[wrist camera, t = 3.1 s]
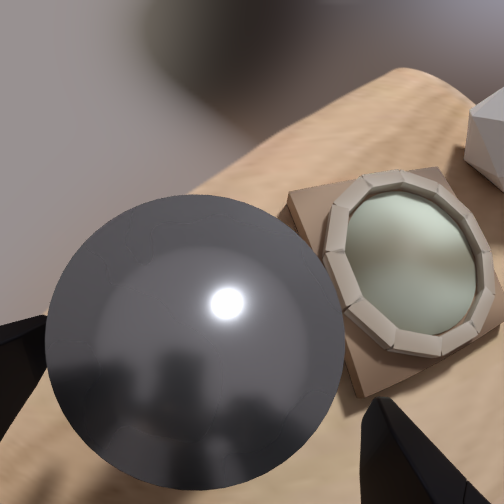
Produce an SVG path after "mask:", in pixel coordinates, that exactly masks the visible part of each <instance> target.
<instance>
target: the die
mask: <svg viewBox="0 0 504 504" xmlns="http://www.w3.org/2000/svg"><path fill="white" fill-rule="evenodd" d="M464 160H465V161H466V162H467V163H469V164H470V165H471V166H472V167H474V168H475V169H476V170H477V171H479V172H480V173H481V174H482V175H484V176H485V177H486V178H487V179H488V180H490V181H491V182H492V183H493V184H494V185H495V186H497V187H498V188H499V189H500V190H501V191H502V192H503V193H504V87H503V88H502V89H500V90H498V91H497V92H495V93H494V94H492V95H491V96H489V97H488V98H486V99H485V100H483V101H482V102H480V103H479V104H478V105H476V106H474V107H473V108H471V109H470V110H469V121H468V131H467V139H466V147H465V154H464Z"/></svg>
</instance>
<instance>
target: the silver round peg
mask: <svg viewBox="0 0 504 504" xmlns="http://www.w3.org/2000/svg"><path fill="white" fill-rule="evenodd" d="M45 353H46V363H47V368H48V374H49V378H50V381H51V385H52V388H53V391H54V394H55V397H56V399H57V401H58V403H59V405H60V407H61V409H62V412H63V413H64V415H65V417H66V418H67V420H68V421H69V423H70V424H71V426H72V427H73V429H74V430H75V432H76V433H77V434H78V435H79V436H80V437H81V439H82V440H83V441H84V442H85V443H86V444H87V445H88V446H89V447H90V448H91V449H92V450H93V451H94V452H95V453H96V454H98V455H99V456H100V457H101V458H102V459H104V460H105V461H106V462H108V463H109V464H111V465H112V466H114V467H115V468H117V469H118V470H120V471H122V472H124V473H126V474H128V475H130V476H132V477H134V478H136V479H139V480H141V481H144V482H147V483H151V484H154V485H157V486H161V487H166V488H172V489H178V490H211V489H219V488H226V487H230V486H233V485H237V484H241V483H244V482H247V481H249V480H252V479H254V478H256V477H259V476H261V475H263V474H265V473H267V472H269V471H270V470H272V469H274V468H275V467H277V466H278V465H280V464H282V463H283V462H285V461H286V460H287V459H288V458H290V457H291V456H292V455H293V454H294V453H295V452H296V451H298V450H299V449H300V448H301V447H302V446H303V445H304V444H305V443H306V442H307V440H308V439H309V438H310V437H311V436H312V435H313V433H314V432H315V431H316V430H317V428H318V427H319V425H320V424H321V422H322V420H323V419H324V417H325V416H326V414H327V412H328V411H329V408H330V406H331V404H332V402H333V399H334V397H335V395H336V392H337V389H338V386H339V382H340V378H341V375H342V371H343V363H344V355H345V328H344V322H343V315H342V309H341V306H340V303H339V299H338V296H337V293H336V290H335V288H334V285H333V283H332V281H331V279H330V277H329V274H328V272H327V271H326V269H325V268H324V266H323V264H322V263H321V261H320V260H319V258H318V257H317V255H316V254H315V253H314V252H313V250H312V249H311V248H310V247H309V246H308V244H307V243H306V242H305V241H304V240H303V239H302V238H301V237H300V236H299V235H298V234H297V233H295V232H294V231H293V230H292V229H291V228H290V227H288V226H287V225H286V224H284V223H283V222H281V221H280V220H279V219H277V218H276V217H274V216H272V215H270V214H268V213H267V212H265V211H263V210H261V209H259V208H256V207H254V206H252V205H249V204H247V203H244V202H240V201H237V200H233V199H230V198H225V197H218V196H212V195H179V196H172V197H167V198H161V199H157V200H153V201H150V202H147V203H144V204H141V205H139V206H136V207H134V208H132V209H130V210H127V211H125V212H123V213H122V214H120V215H118V216H117V217H115V218H113V219H112V220H110V221H109V222H107V223H106V224H105V225H103V226H102V227H101V228H100V229H98V230H97V231H96V232H95V233H94V234H93V235H92V236H90V237H89V238H88V239H87V240H86V241H85V242H84V243H83V245H82V246H81V247H80V248H79V249H78V251H77V252H76V253H75V254H74V256H73V257H72V258H71V260H70V262H69V263H68V265H67V266H66V268H65V270H64V271H63V273H62V275H61V277H60V279H59V281H58V283H57V285H56V288H55V291H54V293H53V296H52V300H51V302H50V306H49V311H48V316H47V321H46V332H45Z"/></svg>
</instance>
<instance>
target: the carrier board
mask: <svg viewBox="0 0 504 504" xmlns="http://www.w3.org/2000/svg"><path fill="white" fill-rule="evenodd" d="M287 205H288V208H289V210H290V213H291V215H292V218H293V220H294V223H295V225H296V228H297V230H298V233H299V236H300V237H301V238H302V239H303V240H304V241H305V242H306V243H307V244H308V246H309V247H310V248H311V249H312V250H313V252H314V253H315V254H316V255H317V257H318V258H319V260H320V261H321V263H322V264H323V266H324V268H325V269H326V271H327V272H328V274H329V277H330V279H331V281H332V283H333V285H334V288H335V290H336V293H337V296H338V299H339V303H340V306H341V309H342V315H343V322H344V328H345V355H344V360H345V363H346V366H347V369H348V372H349V375H350V378H351V381H352V384H353V387H354V390H355V394H356V397H357V398H365V397H368V396H370V395H372V394H375V393H377V392H379V391H381V390H384V389H386V388H388V387H390V386H392V385H394V384H397V383H399V382H401V381H403V380H405V379H407V378H409V377H411V376H413V375H415V374H417V373H419V372H421V371H423V370H425V369H427V368H428V367H430V366H432V365H434V364H436V363H438V362H440V361H441V360H443V359H445V358H447V357H448V356H450V355H452V354H454V353H455V352H457V351H459V350H460V349H462V348H464V347H465V346H467V345H469V344H470V343H472V342H474V341H475V340H477V339H478V338H480V337H481V336H483V335H485V334H486V333H488V332H489V331H491V330H492V329H494V328H495V327H497V326H498V325H500V324H501V323H502V322H504V292H503V290H502V287H501V285H500V282H499V280H498V278H497V275H496V273H495V271H494V267H493V257H492V252H490V251H491V248H490V246H489V244H488V242H487V240H486V238H485V236H484V234H483V232H482V230H481V229H480V227H479V225H478V223H477V221H476V219H475V217H474V216H473V214H472V213H470V210H469V209H468V208H467V207H466V206H465V205H464V204H462V203H461V202H460V201H459V200H458V199H457V197H456V195H455V193H454V192H453V190H452V189H451V187H450V185H449V184H448V182H447V180H446V179H445V177H444V176H443V174H442V173H441V171H440V170H439V168H438V167H431V168H424V169H417V170H410V171H404V170H400V171H399V169H396V170H390V171H383V172H377V173H371V174H364V175H362V176H359V177H358V178H357V179H354V180H349V181H343V182H337V183H332V184H327V185H321V186H316V187H311V188H305V189H300V190H295V191H290V192H289V194H288V199H287Z"/></svg>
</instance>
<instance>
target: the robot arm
mask: <svg viewBox="0 0 504 504" xmlns="http://www.w3.org/2000/svg"><path fill="white" fill-rule="evenodd" d="M46 321H47V316H46V315H39V316H35V317H31V318H28V319H24V320H20V321H16V322H12V323H9V324H5V325H1V326H0V442H1V440H2V438H3V437H4V435H5V433H6V432H7V430H8V429H9V427H10V425H11V424H12V422H13V421H14V419H15V418H16V416H17V415H18V413H19V412H20V410H21V408H22V407H23V405H24V404H25V402H26V401H27V399H28V398H29V397H30V395H31V394H32V392H33V391H34V389H35V388H36V386H37V384H38V383H39V381H40V379H41V377H42V375H43V374H44V372H45V370H46V368H47V363H46V353H45V332H46ZM360 492H361V504H491V503H490V502H489V501H488V500H487V499H486V498H485V497H484V496H483V495H482V494H481V493H480V492H479V491H478V490H477V489H476V488H475V487H474V486H473V485H472V484H471V483H470V482H469V481H467V479H466V478H465V477H464V476H463V475H462V474H461V472H460V471H459V470H458V469H457V468H456V467H455V466H454V465H453V464H452V463H451V462H450V461H449V460H448V459H447V458H446V457H445V455H444V454H443V453H442V452H441V451H440V450H439V449H438V448H437V447H436V446H435V445H434V444H433V443H432V442H431V441H430V440H429V438H428V437H427V436H426V435H425V434H424V433H423V432H422V431H421V430H420V429H419V428H418V427H417V426H416V425H415V424H414V423H413V422H412V420H411V419H410V418H409V417H408V416H407V415H406V414H405V413H404V412H403V411H402V410H401V409H400V408H399V407H398V406H397V405H396V403H395V402H394V401H393V400H392V399H391V398H388V397H375V398H374V399H373V400H372V402H371V404H370V406H369V407H368V409H367V411H366V413H365V414H364V416H363V419H362V423H361V449H360Z"/></svg>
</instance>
